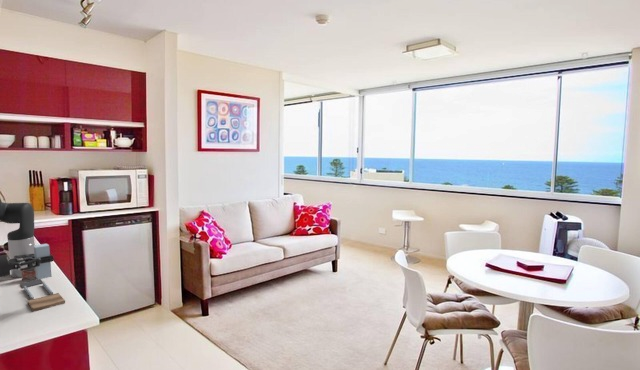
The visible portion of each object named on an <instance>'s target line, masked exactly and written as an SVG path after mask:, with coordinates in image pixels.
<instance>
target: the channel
mask: <svg viewBox="0 0 640 370" xmlns="http://www.w3.org/2000/svg"><path fill="white" fill-rule="evenodd" d="M42 283H43V284H42V286H43V288H44V289H45V290H46V291H47V292H48V293H49V295H52V294H54V291H53V290H52V289H51V288H50V287H49V286H48V284H47V283H46V282H45V281H43V282H42ZM28 288H29V287H26V286H24V288H23V289H24V291H25V292H26V294H27V296H28V295H29V296H28V297H29V299H30V300H32V299H35V298H34V295H33V294H32V293H31V291H30V289H28Z"/></svg>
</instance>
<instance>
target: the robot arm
mask: <svg viewBox="0 0 640 370" xmlns="http://www.w3.org/2000/svg"><path fill="white" fill-rule="evenodd" d="M0 222H2V223H5V224H19V227H18V229H15V230H11V231H9V232H8V233H7V236H6V237H7V245H8V254H0V278H4V277H8V276H11V277H12V278H22V271H23V270H26V269H30V268H34V267H38V266H40V264H42V263H47V262H54V255H51V254H50V256H46V257H41V258H40V257H38V258H34V246H35V210H34V206H33V205H32V204H31V203H29V202H2V199H1V198H0ZM33 262H35V263H33Z"/></svg>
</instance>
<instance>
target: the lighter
mask: <svg viewBox="0 0 640 370" xmlns="http://www.w3.org/2000/svg"><path fill="white" fill-rule="evenodd" d="M33 263H35V262H33ZM21 280H22V282H24V281H25V282H29V281H34V280H38V279H37V278H36V271H35V267H34V268H30V269H26V270H23V271H22V277H21Z"/></svg>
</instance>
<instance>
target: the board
mask: <svg viewBox="0 0 640 370" xmlns="http://www.w3.org/2000/svg"><path fill="white" fill-rule="evenodd" d="M27 304H28V305H29V307H30V309H31V310H32V312H36V311H41V310H44V309H47V308H51V307H55V306H59V305H64V304H66V300H65V298H63V296H62V295H61V294H60V293H59V292H57V293H53V294H52V295H50V294H49V295H45V296H40V297H37V298H34V299H32V300H31V299H29V300H27Z"/></svg>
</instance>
